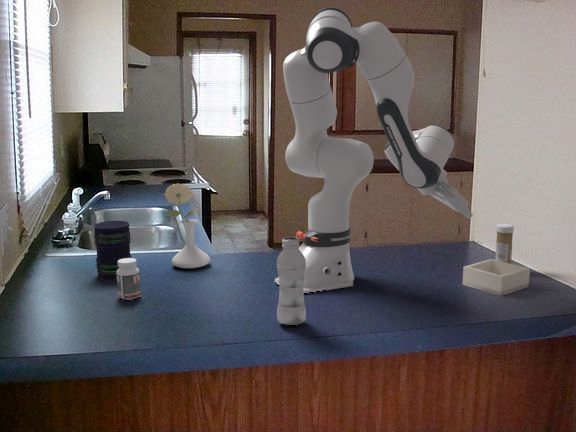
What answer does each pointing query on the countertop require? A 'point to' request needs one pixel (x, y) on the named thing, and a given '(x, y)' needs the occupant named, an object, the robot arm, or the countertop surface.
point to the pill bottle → (128, 279)
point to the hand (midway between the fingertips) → (464, 213)
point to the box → (496, 277)
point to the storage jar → (111, 247)
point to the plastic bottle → (291, 283)
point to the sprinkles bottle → (504, 242)
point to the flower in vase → (190, 253)
